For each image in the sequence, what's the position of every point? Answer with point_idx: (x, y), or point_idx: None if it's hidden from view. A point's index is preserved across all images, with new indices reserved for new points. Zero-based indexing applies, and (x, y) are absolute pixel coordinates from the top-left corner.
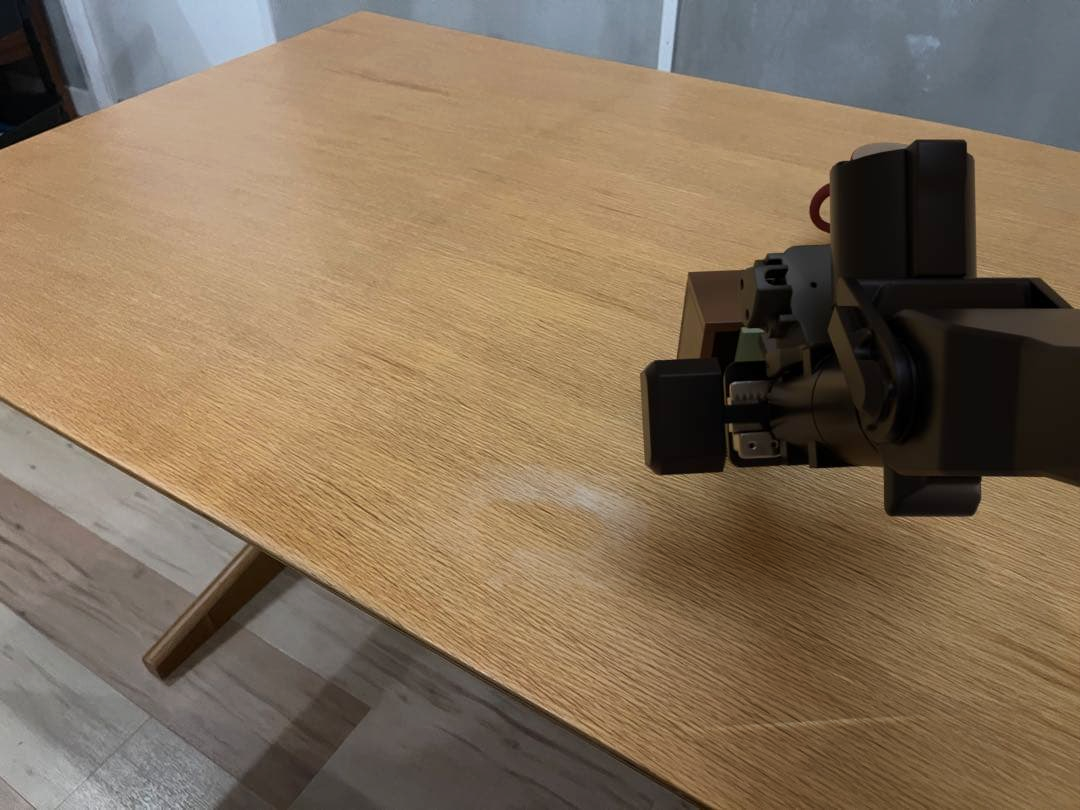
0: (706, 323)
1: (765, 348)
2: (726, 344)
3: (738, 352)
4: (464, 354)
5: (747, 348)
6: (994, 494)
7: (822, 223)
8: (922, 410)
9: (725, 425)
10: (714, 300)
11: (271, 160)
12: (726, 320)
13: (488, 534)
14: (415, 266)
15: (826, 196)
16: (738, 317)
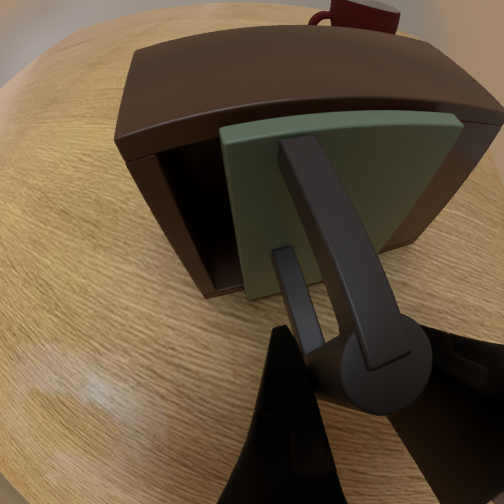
0: (115, 140)
1: (303, 196)
2: None
3: (230, 193)
4: (24, 209)
5: (251, 181)
6: (497, 289)
7: None
8: None
9: (246, 286)
10: (160, 77)
11: (4, 106)
12: (174, 116)
13: (34, 428)
14: (27, 139)
15: (319, 19)
16: (211, 101)
